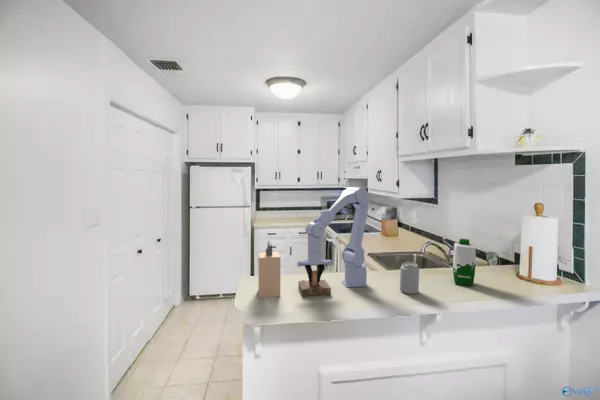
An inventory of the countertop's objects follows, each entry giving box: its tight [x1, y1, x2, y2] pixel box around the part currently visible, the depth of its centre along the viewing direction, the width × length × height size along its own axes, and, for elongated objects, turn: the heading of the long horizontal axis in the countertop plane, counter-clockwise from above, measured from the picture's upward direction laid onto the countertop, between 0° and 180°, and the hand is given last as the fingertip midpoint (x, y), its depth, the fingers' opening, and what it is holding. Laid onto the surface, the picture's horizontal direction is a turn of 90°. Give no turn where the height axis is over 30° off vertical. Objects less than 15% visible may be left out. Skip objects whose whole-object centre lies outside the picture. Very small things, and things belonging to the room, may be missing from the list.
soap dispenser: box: [257, 240, 281, 298], centre depth 123 cm, size 13×9×22 cm
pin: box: [311, 269, 318, 286], centre depth 127 cm, size 3×3×8 cm
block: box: [298, 279, 332, 298], centre depth 127 cm, size 12×10×3 cm
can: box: [399, 262, 420, 295], centre depth 127 cm, size 8×8×12 cm
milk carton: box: [452, 238, 477, 287], centre depth 137 cm, size 9×9×20 cm
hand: (314, 282), depth 127 cm, fingers closed on pin, 3 cm apart
